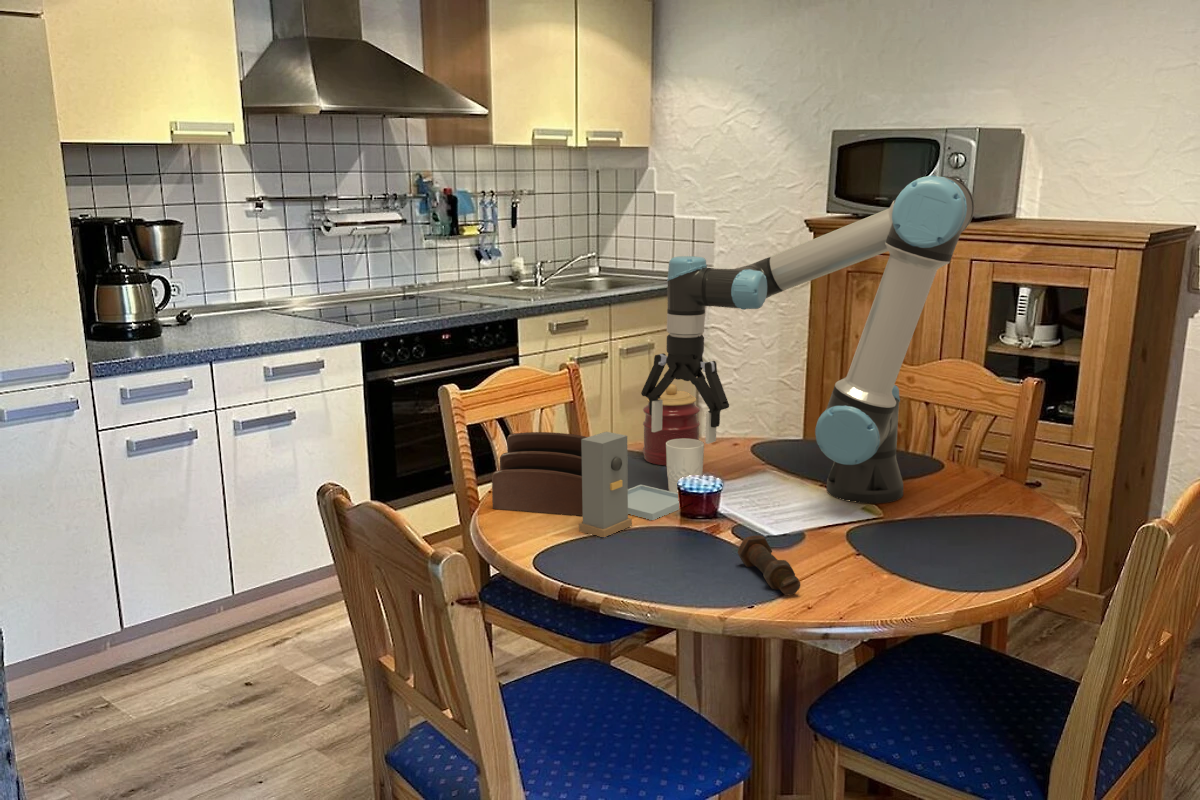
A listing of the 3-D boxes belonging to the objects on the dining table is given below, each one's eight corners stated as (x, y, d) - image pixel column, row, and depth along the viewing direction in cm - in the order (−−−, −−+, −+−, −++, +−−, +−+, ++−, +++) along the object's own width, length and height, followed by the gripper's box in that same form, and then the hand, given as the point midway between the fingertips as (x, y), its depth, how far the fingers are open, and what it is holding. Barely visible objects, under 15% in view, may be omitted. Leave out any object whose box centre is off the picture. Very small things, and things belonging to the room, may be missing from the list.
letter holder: (510, 494, 206) (507, 428, 203) (602, 502, 200) (601, 434, 197) (491, 510, 196) (489, 441, 193) (588, 518, 191) (587, 447, 188)
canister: (662, 448, 239) (662, 376, 235) (709, 456, 231) (710, 382, 228) (632, 461, 229) (631, 385, 225) (680, 470, 221) (681, 392, 217)
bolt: (786, 610, 154) (747, 570, 168) (812, 591, 154) (772, 554, 168) (770, 582, 152) (732, 544, 166) (797, 563, 152) (757, 528, 166)
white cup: (663, 494, 204) (663, 447, 202) (667, 483, 212) (667, 437, 209) (702, 496, 203) (702, 448, 201) (704, 484, 210) (705, 438, 208)
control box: (632, 526, 185) (631, 435, 182) (604, 538, 180) (603, 444, 176) (607, 519, 189) (606, 430, 186) (579, 531, 183) (577, 439, 180)
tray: (692, 503, 198) (692, 496, 198) (652, 520, 188) (652, 513, 188) (640, 490, 207) (640, 484, 206) (599, 507, 197) (599, 500, 197)
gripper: (748, 338, 195) (744, 443, 200) (647, 325, 211) (646, 423, 216) (727, 343, 189) (724, 451, 194) (625, 330, 205) (624, 429, 210)
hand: (683, 436), depth 205 cm, fingers open, 13 cm apart
